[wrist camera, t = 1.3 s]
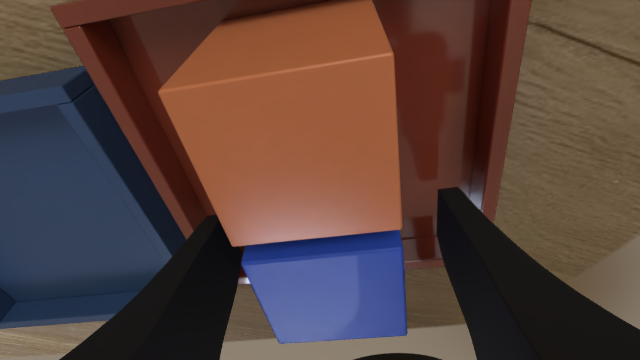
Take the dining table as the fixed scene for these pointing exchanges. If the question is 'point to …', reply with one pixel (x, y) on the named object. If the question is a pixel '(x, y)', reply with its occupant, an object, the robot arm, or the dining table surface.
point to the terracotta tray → (410, 78)
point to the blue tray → (73, 206)
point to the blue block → (330, 286)
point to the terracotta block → (293, 123)
